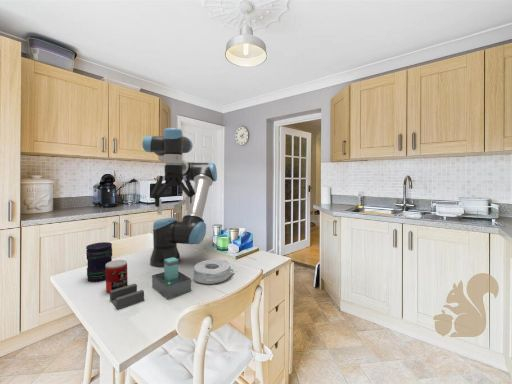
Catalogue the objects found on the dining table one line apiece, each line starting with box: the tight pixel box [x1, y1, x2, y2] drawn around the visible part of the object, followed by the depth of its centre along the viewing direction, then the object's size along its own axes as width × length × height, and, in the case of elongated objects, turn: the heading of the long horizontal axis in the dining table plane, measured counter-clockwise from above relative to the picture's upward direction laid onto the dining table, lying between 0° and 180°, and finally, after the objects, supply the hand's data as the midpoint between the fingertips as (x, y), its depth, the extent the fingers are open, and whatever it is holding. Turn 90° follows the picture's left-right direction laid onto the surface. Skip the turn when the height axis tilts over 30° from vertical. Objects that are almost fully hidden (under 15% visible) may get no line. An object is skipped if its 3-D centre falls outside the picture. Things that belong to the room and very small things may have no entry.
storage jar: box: [85, 241, 113, 283], centre depth 109 cm, size 10×10×15 cm
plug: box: [163, 257, 179, 281], centre depth 99 cm, size 4×4×12 cm
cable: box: [192, 258, 235, 285], centre depth 112 cm, size 18×18×6 cm
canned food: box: [105, 259, 129, 294], centre depth 99 cm, size 8×8×11 cm
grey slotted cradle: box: [109, 283, 145, 311], centre depth 90 cm, size 9×9×4 cm
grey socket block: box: [151, 270, 192, 300], centre depth 100 cm, size 14×10×6 cm
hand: (174, 212), depth 108 cm, fingers open, 13 cm apart
